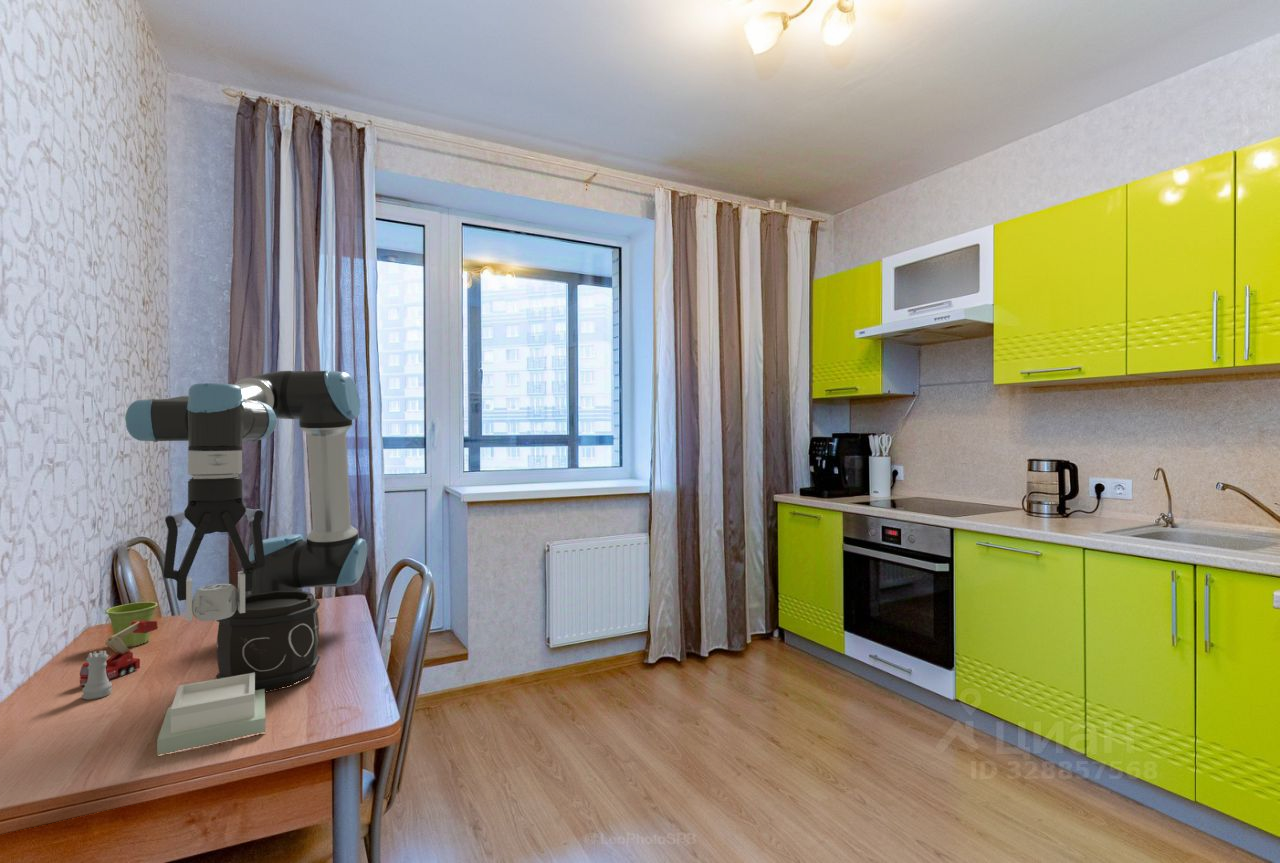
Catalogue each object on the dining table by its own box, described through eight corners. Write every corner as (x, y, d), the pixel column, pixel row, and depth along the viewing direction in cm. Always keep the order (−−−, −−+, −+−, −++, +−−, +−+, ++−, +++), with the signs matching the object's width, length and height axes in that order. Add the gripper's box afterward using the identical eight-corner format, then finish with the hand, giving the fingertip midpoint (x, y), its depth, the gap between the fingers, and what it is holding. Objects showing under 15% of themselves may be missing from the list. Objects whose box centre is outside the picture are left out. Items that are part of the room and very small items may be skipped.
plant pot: (115, 653, 141) (116, 614, 141) (99, 646, 146) (99, 609, 146) (164, 641, 149) (164, 605, 149) (147, 635, 154) (147, 599, 154)
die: (225, 620, 103) (225, 589, 103) (191, 622, 102) (191, 591, 102) (238, 612, 108) (238, 582, 108) (205, 613, 107) (205, 584, 107)
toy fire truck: (76, 687, 122) (76, 637, 122) (145, 662, 135) (145, 617, 135) (90, 688, 121) (90, 638, 121) (157, 663, 135) (158, 618, 135)
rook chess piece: (114, 695, 118) (114, 652, 118) (83, 702, 115) (83, 658, 115) (110, 688, 121) (110, 647, 121) (79, 696, 118) (79, 653, 118)
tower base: (264, 705, 114) (264, 668, 114) (265, 736, 102) (265, 694, 102) (168, 724, 107) (168, 684, 107) (157, 759, 95) (157, 715, 95)
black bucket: (340, 673, 128) (340, 595, 129) (245, 704, 114) (245, 616, 114) (294, 656, 139) (294, 584, 139) (201, 682, 124) (201, 602, 124)
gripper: (140, 480, 96) (140, 632, 96) (286, 475, 108) (286, 609, 108) (140, 478, 102) (140, 621, 101) (278, 473, 114) (278, 600, 114)
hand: (215, 615), depth 105 cm, fingers closed on die, 7 cm apart
